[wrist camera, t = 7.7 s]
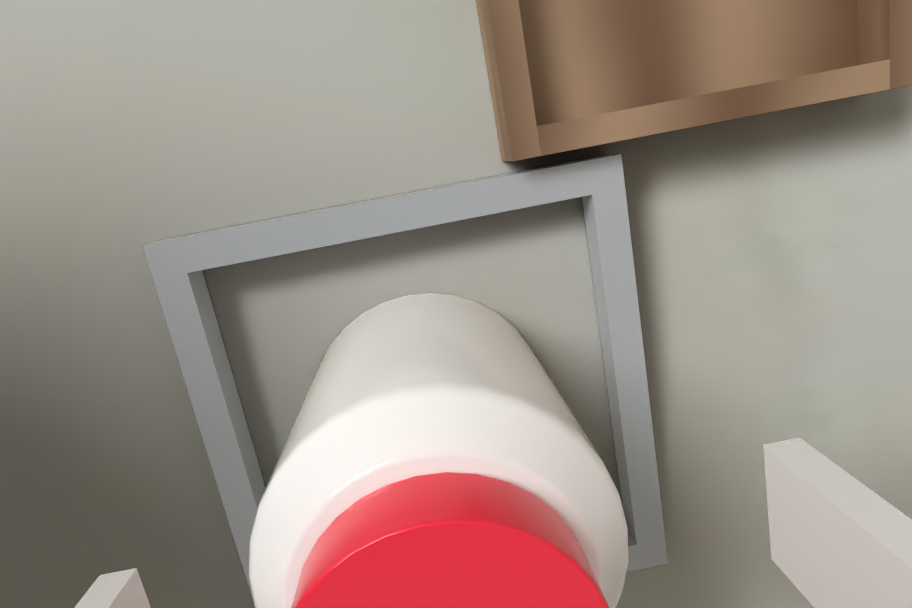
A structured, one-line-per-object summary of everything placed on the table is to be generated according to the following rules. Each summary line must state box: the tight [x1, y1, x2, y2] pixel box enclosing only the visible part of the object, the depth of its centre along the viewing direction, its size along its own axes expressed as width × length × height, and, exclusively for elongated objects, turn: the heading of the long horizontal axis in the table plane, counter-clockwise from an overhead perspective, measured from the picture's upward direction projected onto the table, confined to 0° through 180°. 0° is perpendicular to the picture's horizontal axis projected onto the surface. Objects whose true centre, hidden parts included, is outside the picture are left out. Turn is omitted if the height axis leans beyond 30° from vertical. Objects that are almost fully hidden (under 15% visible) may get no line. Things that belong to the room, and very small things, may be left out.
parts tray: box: [142, 154, 668, 602], centre depth 20 cm, size 14×14×1 cm
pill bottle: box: [249, 293, 628, 608], centre depth 15 cm, size 8×8×11 cm
